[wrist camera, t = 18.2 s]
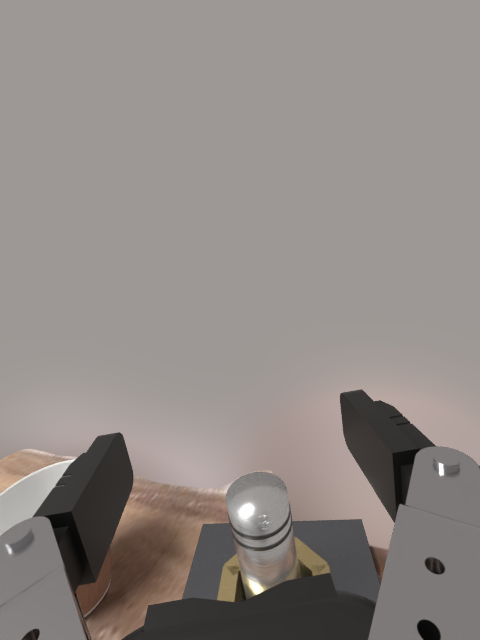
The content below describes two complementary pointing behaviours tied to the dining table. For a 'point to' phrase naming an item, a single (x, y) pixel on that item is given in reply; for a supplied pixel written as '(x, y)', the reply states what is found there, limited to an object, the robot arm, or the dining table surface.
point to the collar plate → (313, 535)
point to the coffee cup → (23, 505)
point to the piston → (262, 531)
